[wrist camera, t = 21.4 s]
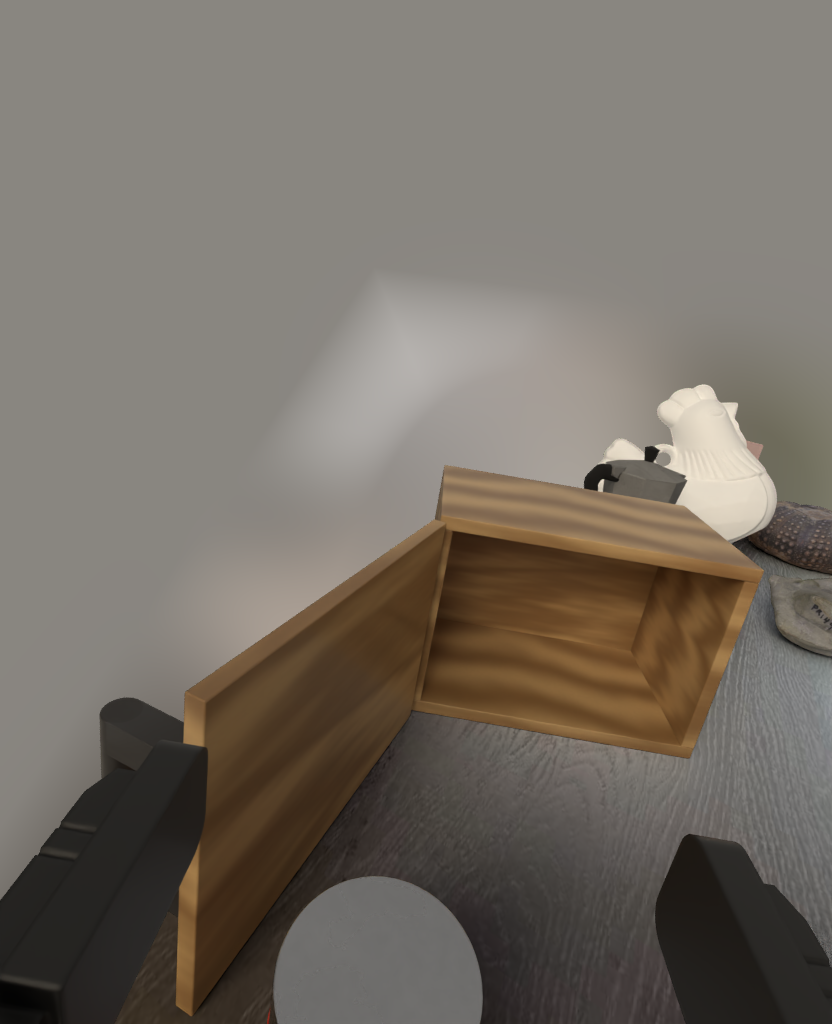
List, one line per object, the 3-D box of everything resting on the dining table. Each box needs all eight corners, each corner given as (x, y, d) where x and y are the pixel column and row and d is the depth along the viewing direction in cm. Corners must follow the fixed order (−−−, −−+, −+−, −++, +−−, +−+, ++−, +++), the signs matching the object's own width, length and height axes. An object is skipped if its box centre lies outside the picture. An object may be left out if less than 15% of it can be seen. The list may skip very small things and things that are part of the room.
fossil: (743, 632, 66) (768, 569, 63) (758, 609, 72) (781, 552, 70) (859, 680, 59) (892, 612, 57) (863, 650, 66) (892, 589, 63)
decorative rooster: (785, 521, 90) (721, 379, 93) (802, 527, 76) (727, 360, 79) (628, 570, 101) (576, 442, 104) (618, 584, 87) (558, 435, 90)
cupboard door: (84, 939, 25) (68, 636, 20) (339, 685, 45) (364, 498, 40) (191, 1018, 23) (205, 702, 18) (410, 716, 43) (446, 522, 38)
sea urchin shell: (835, 586, 84) (848, 519, 82) (717, 554, 100) (725, 497, 98) (897, 574, 92) (910, 514, 91) (779, 546, 109) (788, 495, 107)
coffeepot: (624, 563, 80) (662, 439, 74) (677, 596, 72) (724, 460, 66) (535, 568, 74) (569, 432, 68) (583, 605, 66) (626, 454, 60)
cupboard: (689, 759, 43) (764, 570, 38) (405, 709, 44) (441, 515, 38) (635, 656, 57) (684, 505, 51) (416, 618, 57) (444, 464, 52)
